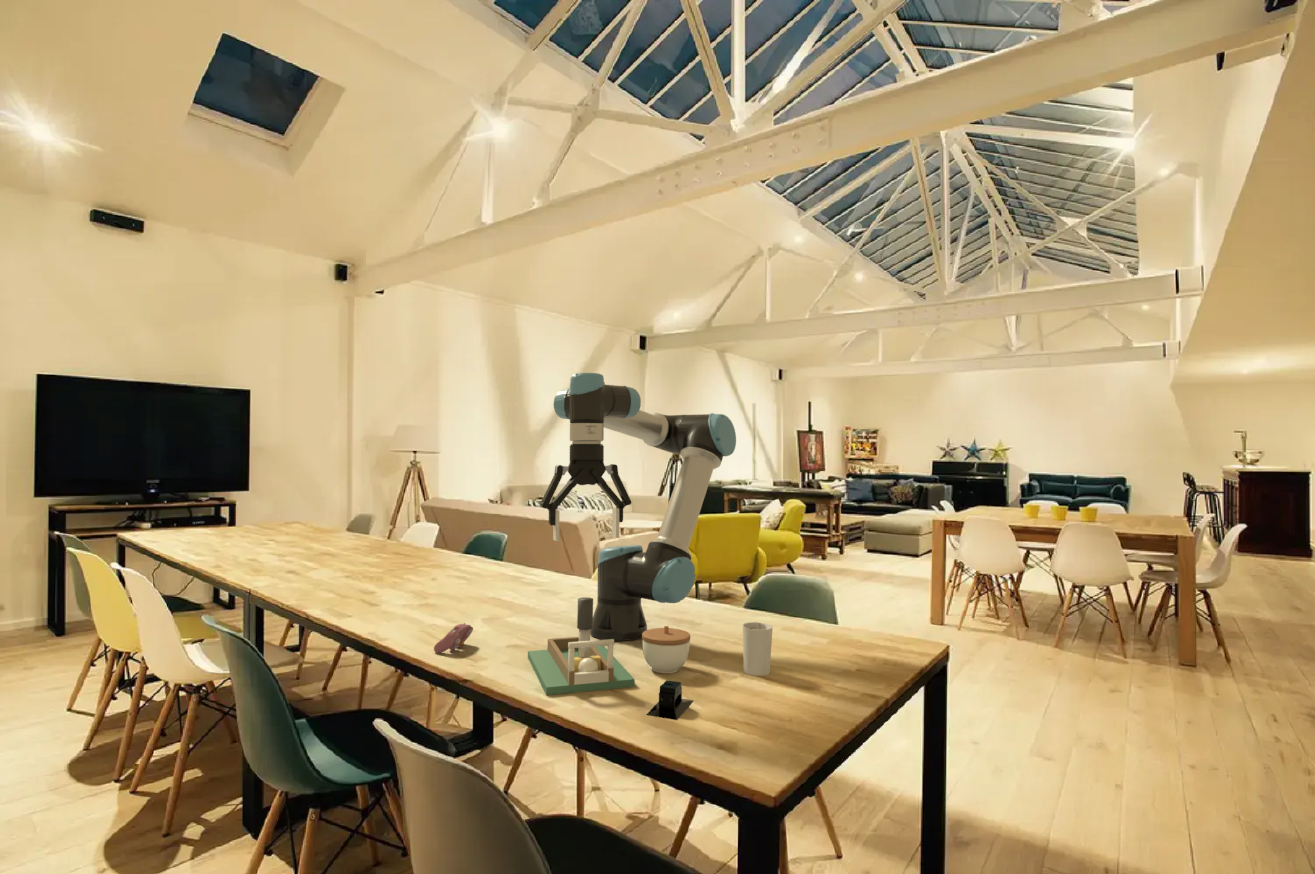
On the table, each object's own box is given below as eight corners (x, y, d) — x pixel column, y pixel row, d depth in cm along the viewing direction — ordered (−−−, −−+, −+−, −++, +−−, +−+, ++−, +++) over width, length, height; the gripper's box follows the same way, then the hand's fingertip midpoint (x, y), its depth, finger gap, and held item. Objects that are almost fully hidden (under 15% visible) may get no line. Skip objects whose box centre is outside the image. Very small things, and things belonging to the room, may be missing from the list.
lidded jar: (695, 665, 148) (696, 623, 149) (681, 679, 138) (682, 634, 138) (650, 659, 152) (651, 618, 152) (634, 673, 142) (635, 629, 142)
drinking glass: (753, 678, 140) (754, 631, 140) (735, 668, 146) (736, 623, 146) (778, 674, 143) (778, 628, 144) (759, 665, 149) (760, 621, 149)
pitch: (603, 651, 157) (604, 611, 157) (634, 686, 133) (635, 638, 133) (527, 657, 151) (529, 615, 151) (546, 695, 127) (547, 645, 128)
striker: (596, 667, 139) (598, 596, 140) (600, 672, 136) (602, 599, 137) (567, 669, 137) (569, 598, 138) (570, 674, 134) (572, 601, 135)
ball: (601, 674, 131) (596, 679, 134) (598, 654, 133) (594, 659, 136) (581, 676, 130) (577, 681, 133) (579, 655, 132) (575, 661, 135)
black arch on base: (662, 695, 130) (663, 671, 130) (700, 701, 127) (700, 676, 127) (638, 720, 117) (639, 693, 118) (679, 727, 115) (680, 699, 115)
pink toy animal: (446, 661, 152) (460, 635, 151) (430, 651, 153) (444, 625, 152) (466, 649, 161) (479, 624, 161) (451, 639, 162) (464, 615, 162)
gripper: (533, 442, 137) (533, 544, 137) (645, 443, 146) (645, 537, 146) (527, 442, 144) (526, 539, 144) (633, 442, 153) (633, 533, 153)
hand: (586, 538), depth 145 cm, fingers open, 13 cm apart
